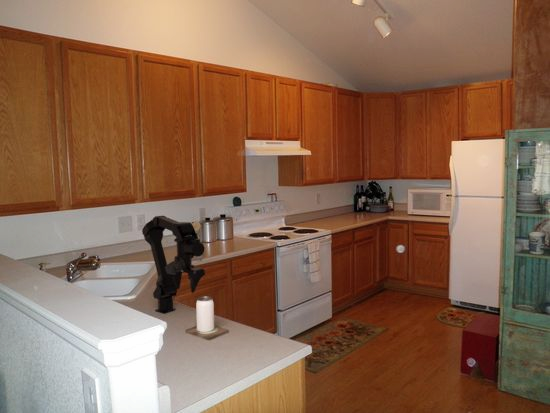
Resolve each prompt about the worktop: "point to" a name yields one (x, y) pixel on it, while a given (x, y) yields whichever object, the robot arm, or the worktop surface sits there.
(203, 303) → the can
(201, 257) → the salt shaker
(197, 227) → the flower in vase
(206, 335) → the coaster board
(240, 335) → the worktop surface
